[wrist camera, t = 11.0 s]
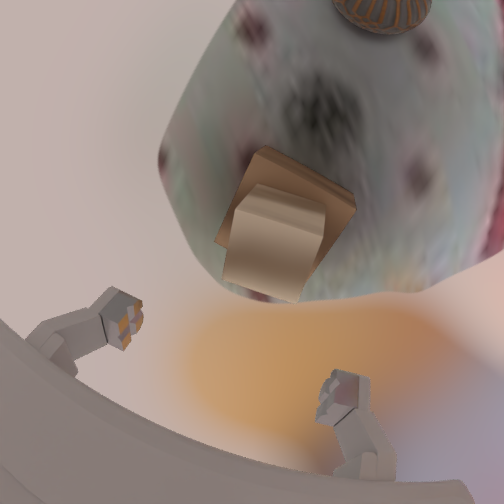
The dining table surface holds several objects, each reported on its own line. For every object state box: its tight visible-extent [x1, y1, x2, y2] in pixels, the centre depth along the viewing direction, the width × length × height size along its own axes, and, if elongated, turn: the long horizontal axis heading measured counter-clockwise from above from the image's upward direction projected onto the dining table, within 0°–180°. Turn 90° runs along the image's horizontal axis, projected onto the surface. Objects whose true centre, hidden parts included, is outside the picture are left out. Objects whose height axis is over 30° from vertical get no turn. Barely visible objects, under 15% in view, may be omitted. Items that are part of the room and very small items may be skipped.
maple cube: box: [222, 183, 326, 304], centre depth 19 cm, size 5×5×5 cm
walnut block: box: [214, 146, 357, 283], centre depth 23 cm, size 8×8×4 cm
